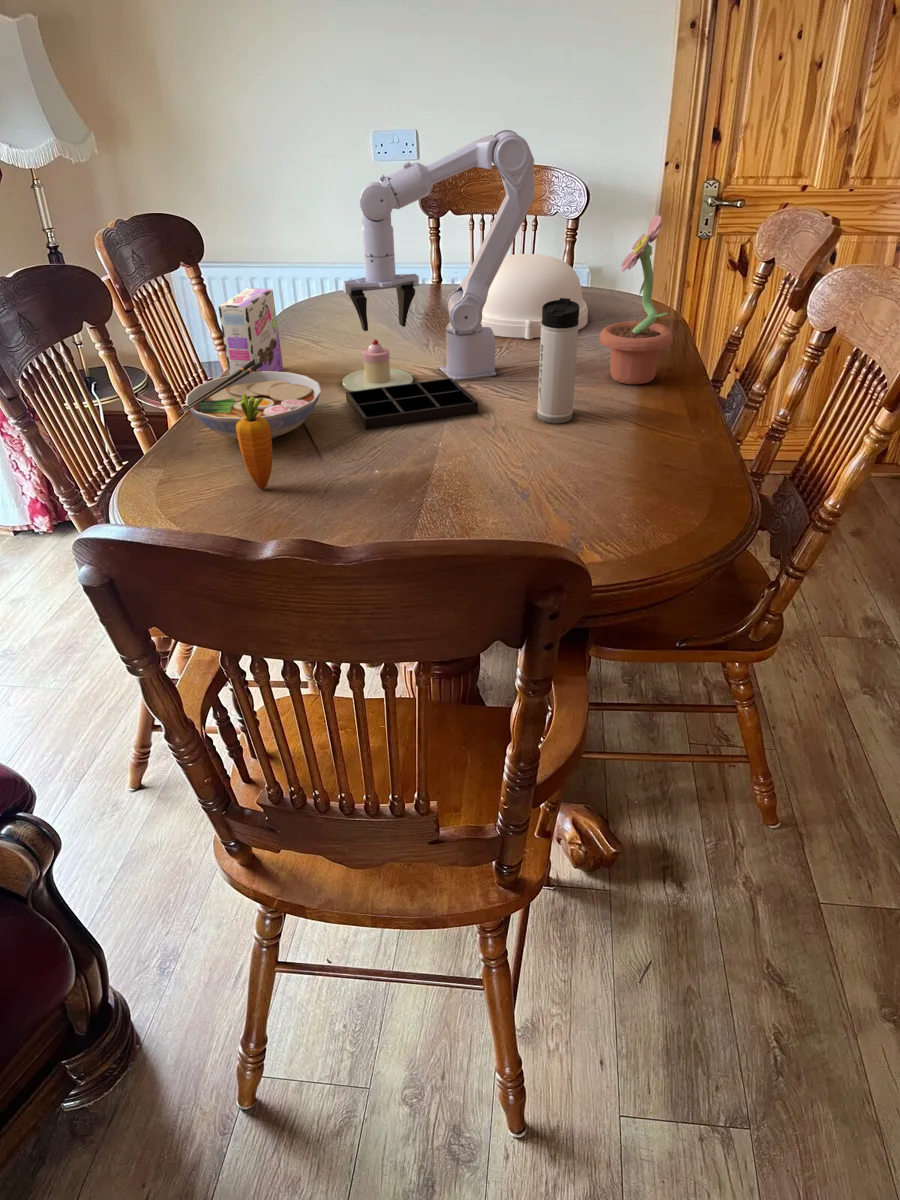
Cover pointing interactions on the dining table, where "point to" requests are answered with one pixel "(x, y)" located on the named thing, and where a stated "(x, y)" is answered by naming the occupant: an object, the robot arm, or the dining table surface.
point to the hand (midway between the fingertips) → (383, 327)
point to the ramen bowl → (280, 406)
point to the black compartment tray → (410, 403)
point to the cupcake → (376, 363)
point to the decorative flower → (638, 324)
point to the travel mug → (557, 360)
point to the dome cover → (529, 294)
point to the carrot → (255, 442)
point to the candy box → (251, 331)
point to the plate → (358, 382)
